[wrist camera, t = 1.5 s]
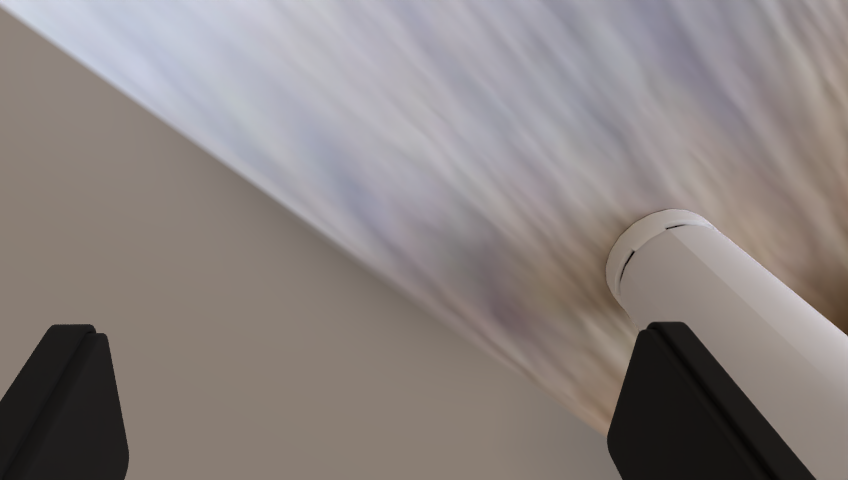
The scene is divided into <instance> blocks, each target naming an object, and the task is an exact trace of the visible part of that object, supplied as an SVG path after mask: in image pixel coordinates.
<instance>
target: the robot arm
mask: <svg viewBox="0 0 848 480" xmlns="http://www.w3.org/2000/svg"><path fill="white" fill-rule="evenodd" d="M607 444H608V450H609V453H610V455H611V458H612V460H613V461H614V464H615V465H616V467H617V469H618V471H619V473H620V475H621V477H622V479H623V480H816V478H815V477H814V476H813V475H812V474H811V472H810V471H809V470H808V469H807V468H806V466H805V465H804V464H803V463H802V462H801V460H800V459H799V458H798V457H797V456H796V454H795V453H794V452H793V451H792V450H791V448H790V447H789V446H788V445H787V444H786V443H785V441H784V440H783V439H782V438H781V437H780V435H779V434H778V433H777V432H776V431H775V429H774V428H773V427H772V426H771V425H770V423H769V422H768V421H767V420H766V419H765V417H764V416H763V415H762V414H761V413H760V411H759V410H758V409H757V408H756V407H755V405H754V404H753V403H752V402H751V401H750V399H749V398H748V397H747V396H746V395H745V393H744V392H743V391H742V390H741V389H740V387H739V386H738V385H737V384H736V383H735V382H734V380H733V379H732V378H731V377H730V376H729V374H728V373H727V372H726V371H725V370H724V368H723V367H722V366H721V365H720V364H719V362H718V361H717V360H716V359H715V358H714V356H713V355H712V354H711V353H710V352H709V350H708V349H707V348H706V347H705V346H704V344H703V343H702V342H701V341H700V340H699V338H698V337H697V336H696V335H695V334H694V332H693V331H692V330H691V329H690V328H689V327H688V325H686V324H685V323H684V322H680V321H674V322H651V323H650V324H649V325H648V326H647V328H646V329H644V330H641V331H640V332H639V334H638V336H637V340H636V343H635V346H634V349H633V353H632V356H631V359H630V363H629V366H628V369H627V372H626V376H625V379H624V382H623V386H622V389H621V392H620V395H619V399H618V402H617V405H616V409H615V412H614V415H613V418H612V422H611V425H610V428H609V432H608V436H607ZM128 462H129V450H128V445H127V439H126V434H125V428H124V423H123V418H122V413H121V407H120V401H119V396H118V391H117V385H116V380H115V375H114V369H113V364H112V359H111V353H110V348H109V342H108V339H107V336H106V335H105V334H104V333H96V330H95V328H94V326H92V325H90V324H74V325H52V326H51V327H50V328H49V329H48V330H47V332H46V333H45V335H44V336H43V338H42V340H41V341H40V342H39V344H38V345H37V347H36V348H35V350H34V351H33V353H32V354H31V356H30V357H29V359H28V360H27V362H26V363H25V365H24V366H23V368H22V370H21V371H20V373H19V374H18V376H17V377H16V379H15V380H14V382H13V383H12V385H11V386H10V388H9V389H8V391H7V392H6V394H5V395H4V397H3V398H2V400H1V401H0V480H124V479H125V476H126V472H127V469H128Z"/></svg>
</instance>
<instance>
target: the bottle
mask: <svg viewBox="0 0 848 480" xmlns="http://www.w3.org/2000/svg"><path fill="white" fill-rule="evenodd" d="M680 224H682V225H684V226H680V227H676V228H671V229H667V230H666V229H665V228H668V227H672V226H676V225H680ZM633 250H634V251H635V253H634V254H633V256H632V257H631V259H630V261H629V262H628V264H627V265H626V267H625V269H624V272H623V275H622V279H621V282H620V277H621V274H622V271H623V267H624V264H625V262H626V261H627V259H628V258H629V256H630V255H631V253H632V252H633ZM606 282H607V284H608V287H609V289H610V291H611V293H612V295H613V296H614V297H615V299H616V300H617V302H618V303H619V304H620V306H621V307H622V308H623V309H624V310H626V312H627V314H628V316H629V318H630V319H631V320H632V322H633V323H634V324H635V326H636V327H637V328H638V330H639V331H641V330H644V329H646V328H647V326H648V325H649V324H650V323H651V322H674V321H680V322H684V323H685V324H686V325H688V327H689V328H690V329H691V330H692V331H693V332H694V334H695V335H696V336H697V337H698V338H699V340H700V341H701V342H702V343H703V344H704V346H705V347H706V348H707V349H708V350H709V352H710V353H711V354H712V355H713V356H714V358H715V359H716V360H717V361H718V362H719V364H720V365H721V366H722V367H723V368H724V370H725V371H726V372H727V373H728V374H729V376H730V377H731V378H732V379H733V380H734V382H735V383H736V384H737V385H738V386H739V387H740V389H741V390H742V391H743V392H744V393H745V395H746V396H747V397H748V398H749V399H750V401H751V402H752V403H753V404H754V405H755V407H756V408H757V409H758V410H759V411H760V413H761V414H762V415H763V416H764V417H765V419H766V420H767V421H768V422H769V423H770V425H771V426H772V427H773V428H774V429H775V431H776V432H777V433H778V434H779V435H780V437H781V438H782V439H783V440H784V441H785V443H786V444H787V445H788V446H789V447H790V448H791V450H792V451H793V452H794V453H795V454H796V456H797V457H798V458H799V459H800V460H801V462H802V463H803V464H804V465H805V466H806V468H807V469H808V470H809V471H810V472H811V474H812V475H813V476H814V477H815V478H816V480H848V336H847V335H846V334H845V333H843V332H842V331H841V330H840V329H838V328H837V327H836V326H835V325H834V324H832V323H831V322H830V321H829V320H827V319H826V318H825V317H824V316H823V315H821V314H820V313H819V312H818V311H817V310H815V309H814V308H813V307H812V306H810V305H809V304H808V303H807V302H806V301H804V300H803V299H802V298H801V297H799V296H798V295H797V294H796V293H795V292H793V291H792V290H791V289H790V288H788V287H787V286H786V285H785V284H784V283H782V282H781V281H780V280H779V279H778V278H776V277H775V276H774V275H773V274H771V273H770V272H769V271H768V270H767V269H765V268H764V267H763V266H762V265H760V264H759V263H758V262H757V261H756V260H754V259H753V258H752V257H751V256H749V255H748V254H747V253H746V252H745V251H743V250H742V249H741V248H740V247H738V246H737V245H736V244H735V243H734V242H732V241H731V240H730V239H729V238H728V237H726V236H725V235H724V234H722V233H720V232H719V231H718V230H717V229H716V228H715V227H714V226H713V225H712V224H710V223H709V222H708V221H707V220H706V219H704V218H703V217H702V216H700V215H698V214H695V213H693V212H691V211H688V210H678V209H668V210H664V211H660V212H656V213H652V214H650V215H648V216H646V217H644V218H642V219H641V220H639V221H637V222H635V223H634V224H633V225H631V226H630V227H629V228H628V229H627V230H626V231H625V232H624V233H623V234H622V235H621V236H620V237H619V238H618V240H617V242H616V243H615V245H614V246H613V248H612V249H611V251H610V254H609V257H608V261H607V264H606Z"/></svg>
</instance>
